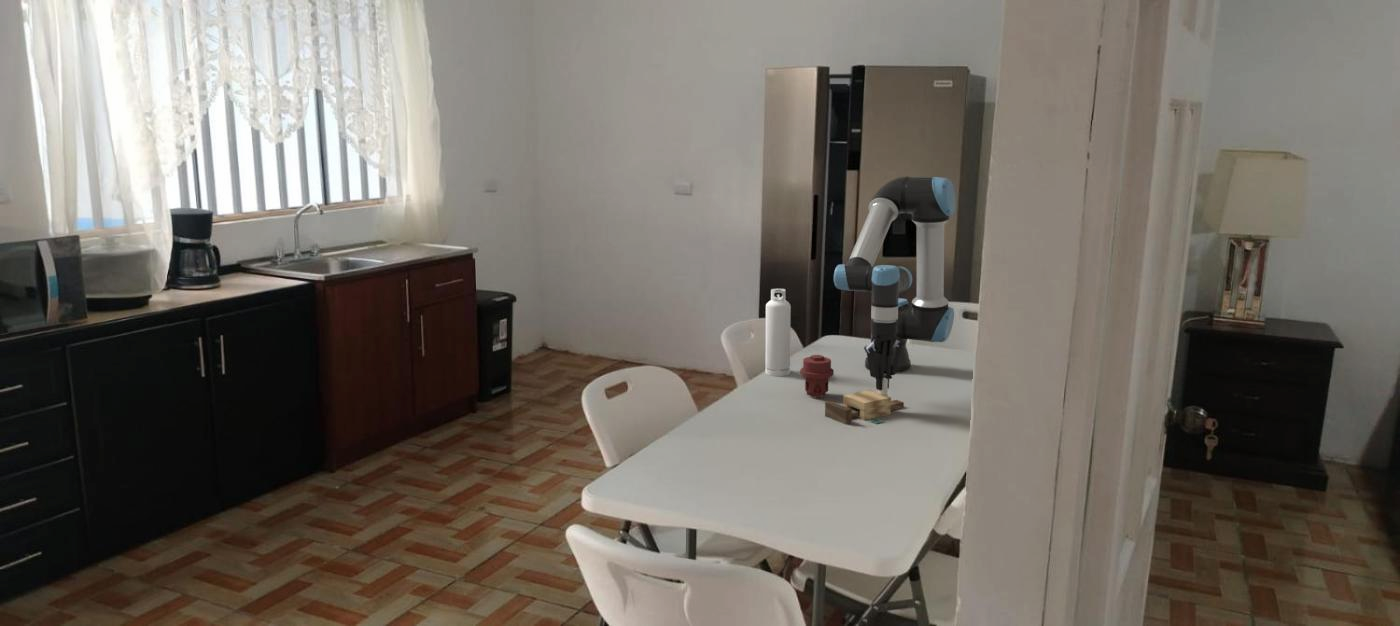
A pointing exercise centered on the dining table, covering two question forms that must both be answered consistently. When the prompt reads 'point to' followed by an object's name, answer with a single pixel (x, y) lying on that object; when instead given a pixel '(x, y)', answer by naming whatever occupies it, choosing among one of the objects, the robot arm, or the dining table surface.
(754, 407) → the dining table surface
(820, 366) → the mechanical component
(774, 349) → the bottle
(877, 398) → the light wooden box
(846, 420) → the wooden block assembly
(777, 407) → the dining table surface
